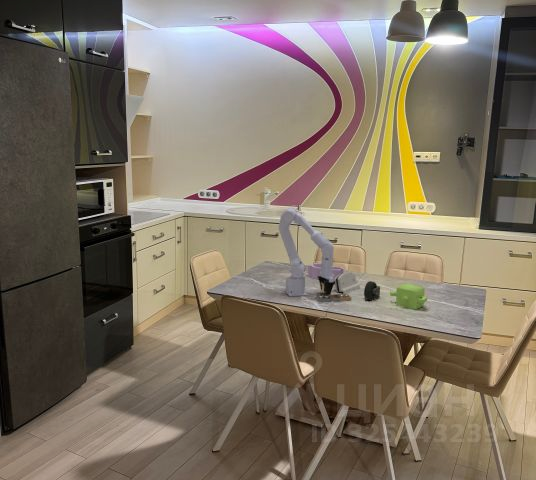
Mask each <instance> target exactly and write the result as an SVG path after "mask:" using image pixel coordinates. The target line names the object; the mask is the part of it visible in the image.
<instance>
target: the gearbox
mask: <svg viewBox="0 0 536 480" xmlns="http://www.w3.org/2000/svg"><path fill="white" fill-rule="evenodd" d="M389 296H390V297H396V299H395V305H396V306H399V307H403V308H407V309H412V310H417V309H419V308H422V307H423V306H424V304H425V303H427V301H428V297H427V296H425V287H423V286H419V285H415V284H412V283H411V284H410V283H402V284H400V285H399V286H397V287H396V291H390V292H389Z"/></svg>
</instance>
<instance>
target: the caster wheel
mask: <svg viewBox="0 0 536 480" xmlns="http://www.w3.org/2000/svg"><path fill="white" fill-rule="evenodd" d="M363 295H364V298H365V299H366V300H368V301H369V300H370V301H373V300H374V299H375V298H379V297H380V295H381V286H380V285H377V283H376V282H375V281H372V280H370V281H367V282H366V284H365V286H364V290H363Z"/></svg>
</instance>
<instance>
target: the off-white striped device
mask: <svg viewBox="0 0 536 480" xmlns="http://www.w3.org/2000/svg"><path fill="white" fill-rule="evenodd" d="M334 281H335V284H334V288H335V293H341V292H342V294H348V293H351V292H354V291H356V290H359V289H361V285H360V283H358V281H357V277H356V274H355V273H353V272H343V273H342V274H340V275H338V276H337V277H336V278H335V279H334Z"/></svg>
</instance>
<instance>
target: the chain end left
mask: <svg viewBox="0 0 536 480" xmlns="http://www.w3.org/2000/svg"><path fill="white" fill-rule="evenodd" d="M317 299H318V300H317ZM316 300H317V301H319V303H330V302H329V301H339V302H342V301H341V298H330V297H329V296H328V295H319V294H318V295H316Z"/></svg>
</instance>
